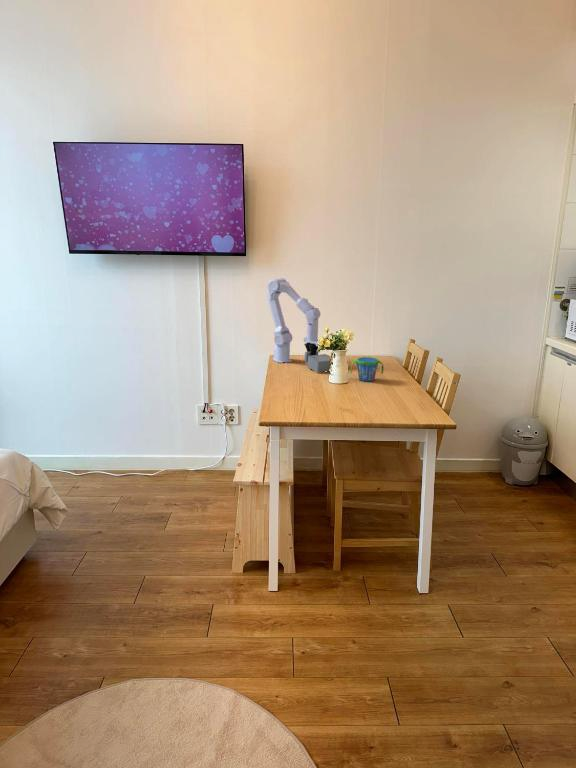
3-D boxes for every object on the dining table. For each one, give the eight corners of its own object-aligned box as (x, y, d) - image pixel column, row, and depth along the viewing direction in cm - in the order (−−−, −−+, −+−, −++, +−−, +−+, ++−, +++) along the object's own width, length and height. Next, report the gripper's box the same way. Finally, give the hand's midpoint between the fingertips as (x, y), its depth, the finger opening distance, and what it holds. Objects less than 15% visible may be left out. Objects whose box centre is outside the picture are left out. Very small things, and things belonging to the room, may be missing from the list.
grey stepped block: (301, 363, 296) (302, 352, 294) (318, 361, 300) (319, 350, 298) (317, 373, 282) (318, 361, 280) (334, 371, 286) (335, 359, 284)
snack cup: (349, 381, 267) (351, 361, 265) (350, 376, 277) (351, 356, 275) (383, 383, 265) (384, 362, 263) (382, 378, 275) (383, 357, 273)
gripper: (326, 333, 288) (325, 359, 292) (312, 329, 300) (311, 353, 304) (314, 334, 285) (313, 360, 288) (300, 329, 297) (299, 354, 301)
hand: (311, 357), depth 296 cm, fingers closed on grey stepped block, 2 cm apart
